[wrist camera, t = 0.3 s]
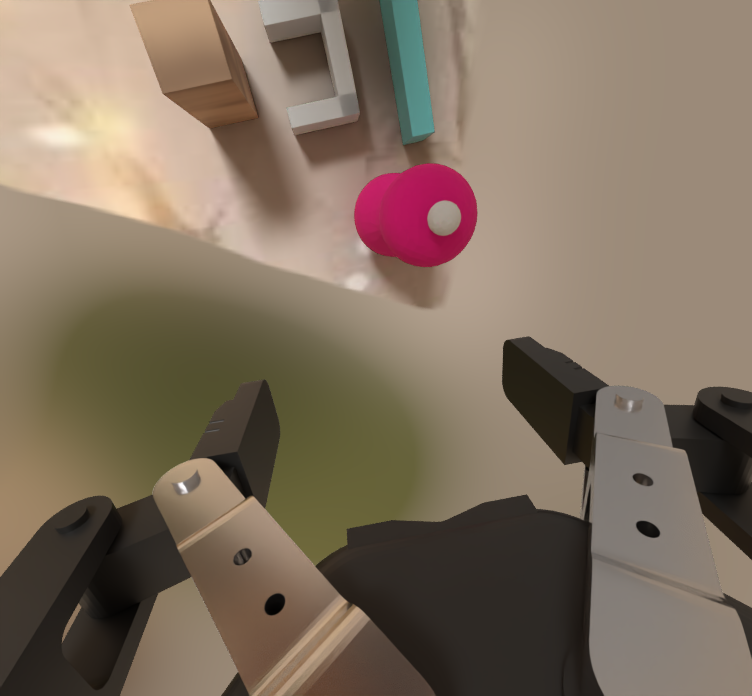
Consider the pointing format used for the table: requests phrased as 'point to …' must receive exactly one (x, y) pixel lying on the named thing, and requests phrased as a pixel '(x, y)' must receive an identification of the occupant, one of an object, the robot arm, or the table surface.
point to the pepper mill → (417, 214)
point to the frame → (321, 14)
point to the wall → (408, 68)
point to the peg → (195, 60)
